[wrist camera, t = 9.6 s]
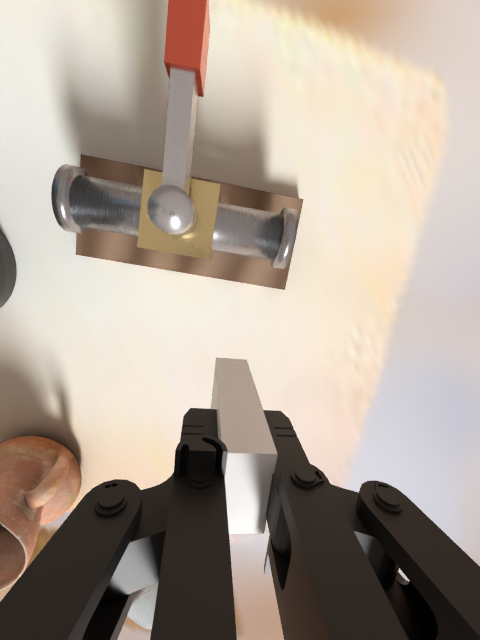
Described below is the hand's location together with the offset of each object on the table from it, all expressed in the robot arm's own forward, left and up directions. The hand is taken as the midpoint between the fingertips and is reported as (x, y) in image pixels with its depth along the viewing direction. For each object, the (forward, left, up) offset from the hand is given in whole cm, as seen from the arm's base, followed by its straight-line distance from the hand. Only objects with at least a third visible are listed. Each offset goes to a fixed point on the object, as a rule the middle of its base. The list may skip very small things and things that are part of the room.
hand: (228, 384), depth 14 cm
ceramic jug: (-24, -31, -29) cm, 49 cm away
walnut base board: (-6, +9, -28) cm, 30 cm away
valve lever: (-6, +16, -16) cm, 23 cm away
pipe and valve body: (-6, +9, -26) cm, 29 cm away
